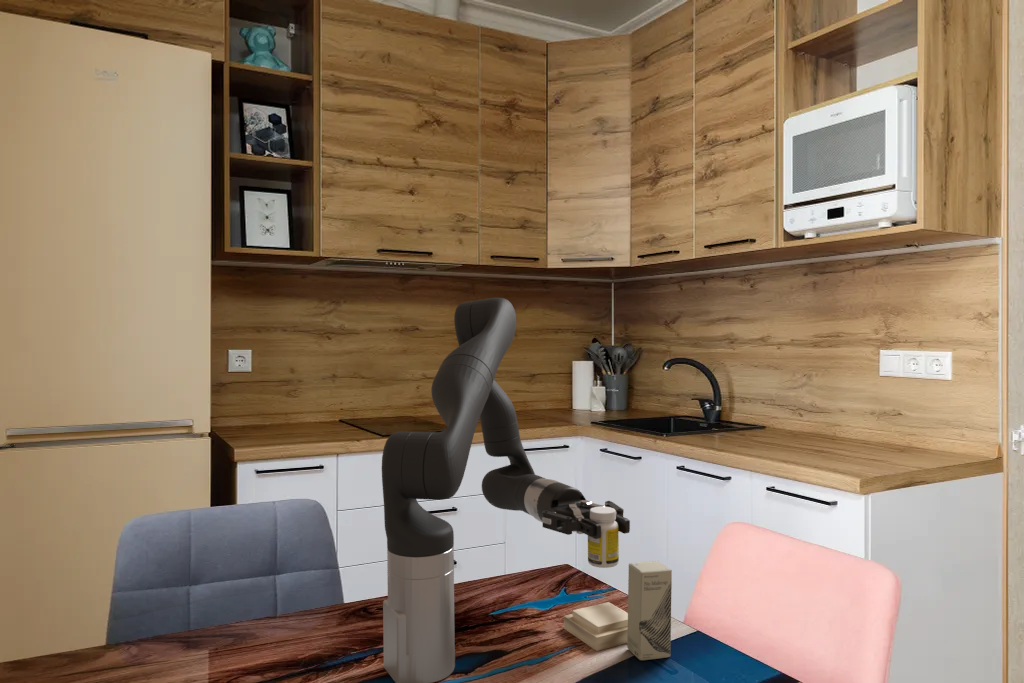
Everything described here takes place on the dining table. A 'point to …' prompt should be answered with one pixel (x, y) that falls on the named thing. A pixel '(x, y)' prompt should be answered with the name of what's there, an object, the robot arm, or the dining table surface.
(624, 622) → the cream stand
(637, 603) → the box
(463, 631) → the dining table surface
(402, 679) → the robot arm
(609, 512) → the supplement bottle
